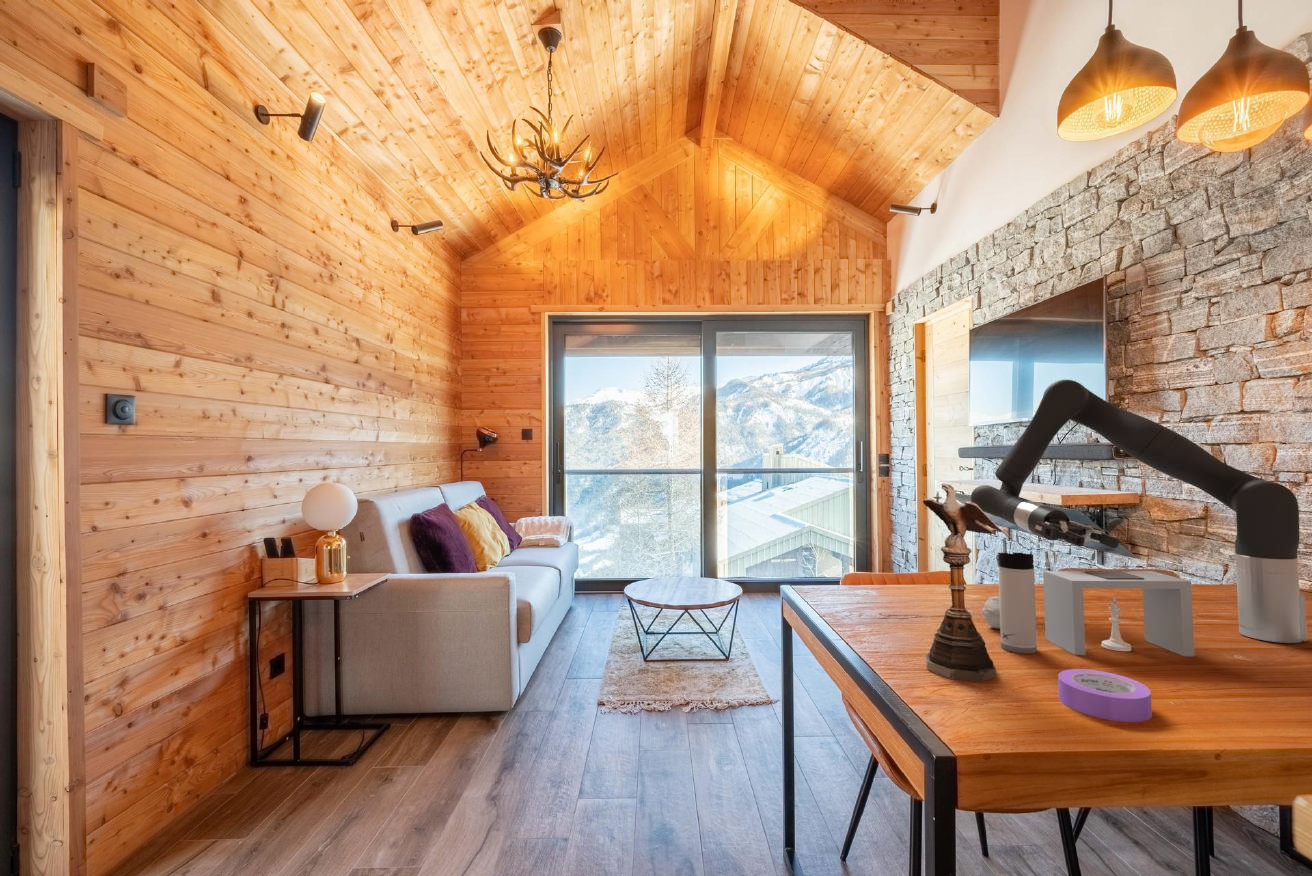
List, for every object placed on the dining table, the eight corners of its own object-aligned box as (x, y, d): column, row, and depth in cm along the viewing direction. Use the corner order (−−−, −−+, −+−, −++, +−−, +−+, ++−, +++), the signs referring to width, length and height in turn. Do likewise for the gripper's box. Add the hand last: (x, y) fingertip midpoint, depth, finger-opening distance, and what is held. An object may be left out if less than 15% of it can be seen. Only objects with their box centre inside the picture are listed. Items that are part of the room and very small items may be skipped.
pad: (1119, 572, 123) (1119, 571, 123) (1144, 579, 116) (1144, 577, 116) (1084, 572, 124) (1084, 571, 124) (1106, 579, 117) (1106, 577, 117)
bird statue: (961, 648, 120) (956, 478, 121) (1025, 668, 108) (1019, 479, 109) (904, 662, 113) (899, 480, 114) (967, 685, 101) (960, 482, 102)
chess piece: (1137, 652, 117) (1135, 601, 117) (1109, 650, 118) (1107, 600, 118) (1123, 644, 121) (1121, 595, 122) (1096, 643, 122) (1094, 594, 123)
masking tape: (1171, 725, 86) (1170, 699, 86) (1083, 721, 88) (1082, 695, 88) (1121, 693, 97) (1120, 670, 97) (1044, 690, 99) (1044, 667, 99)
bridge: (1155, 640, 124) (1152, 571, 124) (1194, 656, 114) (1191, 581, 114) (1045, 639, 125) (1043, 571, 126) (1074, 654, 115) (1072, 580, 116)
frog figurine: (1013, 626, 135) (1012, 595, 135) (1012, 634, 129) (1011, 602, 129) (983, 622, 138) (982, 592, 139) (981, 630, 132) (980, 599, 133)
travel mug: (1004, 652, 117) (1000, 552, 118) (998, 642, 123) (995, 547, 124) (1040, 656, 115) (1037, 553, 116) (1033, 646, 121) (1029, 548, 122)
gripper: (1017, 503, 140) (1075, 524, 124) (1069, 506, 142) (1132, 527, 126) (1011, 533, 141) (1067, 558, 125) (1062, 535, 143) (1124, 560, 127)
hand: (1100, 543), depth 126 cm, fingers open, 8 cm apart
